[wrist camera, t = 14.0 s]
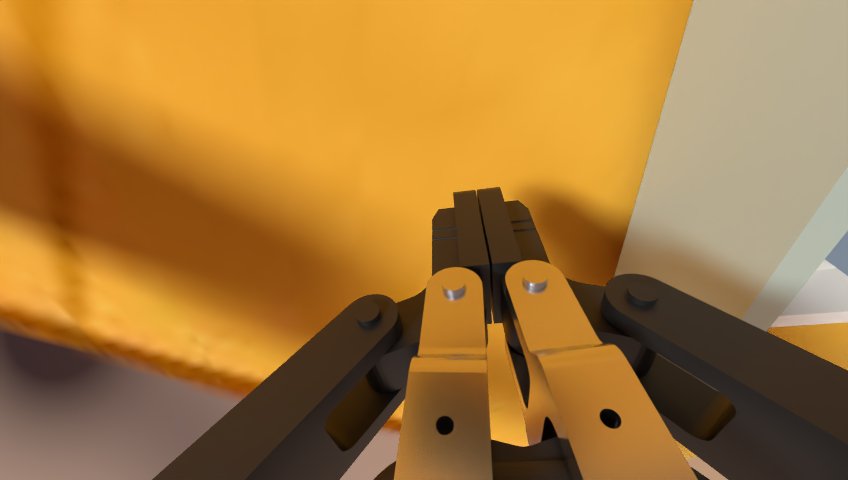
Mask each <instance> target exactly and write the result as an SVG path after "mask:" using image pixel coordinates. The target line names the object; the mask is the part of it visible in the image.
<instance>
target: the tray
mask: <svg viewBox="0 0 848 480" xmlns="http://www.w3.org/2000/svg"><path fill="white" fill-rule="evenodd" d="M847 231H848V0H694V1H693V5H692V8H691V12H690V15H689V19H688V22H687V26H686V29H685V33H684V36H683V40H682V43H681V46H680V50H679V53H678V57H677V60H676V64H675V67H674V71H673V74H672V78H671V81H670V85H669V88H668V92H667V95H666V98H665V102H664V105H663V109H662V112H661V116H660V119H659V123H658V126H657V130H656V133H655V137H654V140H653V143H652V147H651V150H650V154H649V157H648V161H647V164H646V168H645V171H644V175H643V178H642V182H641V185H640V189H639V192H638V195H637V199H636V202H635V206H634V209H633V213H632V216H631V220H630V223H629V227H628V230H627V234H626V237H625V241H624V244H623V247H622V251H621V254H620V258H619V261H618V265H617V268H616V272H615V275H614V277H615V276H618V275H622V274H641V275H646V276H649V277H652V278H655V279H657V280H659V281H661V282H663V283H665V284H668V285H670V286H672V287H674V288H676V289H678V290H680V291H682V292H684V293H686V294H688V295H691V296H693V297H695V298H697V299H699V300H701V301H703V302H705V303H707V304H709V305H711V306H714V307H716V308H718V309H720V310H722V311H724V312H726V313H728V314H730V315H732V316H734V317H737V318H739V319H741V320H743V321H745V322H747V323H749V324H751V325H753V326H755V327H757V328H760V329H762V330H764V331H766V332H767V330H768V329H769V328H770V327H785V326H800V325H815V324H829V323H844V322H848V276H847V275H846V274H844V273H843V272H842V271H840V270H839V269H838V268H836V267H835V266H833V265H832V264H831V263H829V262H828V261H827V260H825V258H826V257H827V256H828V254H829V253H830V252H831V251H832V250H833V248H834V247H835V246H836V245H837V243H838V242H839V241H840V240H841V238H842V237H843V236H844V235H845V233H846V232H847ZM658 355H659V354H658ZM660 356H661V355H660ZM663 358H664V357H663ZM668 361H669V360H668ZM671 363H672V362H671ZM676 366H677V365H676ZM679 368H680V367H679ZM684 371H685V370H684ZM687 373H688V372H687ZM689 374H690V373H689ZM692 376H693V375H692ZM697 379H698V378H697ZM700 381H701V380H700ZM705 384H706V383H705ZM708 386H709V385H708ZM710 387H711V386H710ZM713 389H714V388H713Z"/></svg>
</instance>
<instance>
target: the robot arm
mask: <svg viewBox="0 0 848 480" xmlns="http://www.w3.org/2000/svg"><path fill="white" fill-rule="evenodd" d="M453 196H454V207H455V208H446V209H439V210H438V211H437V213H436V214H435V216H434V218H433V219H432V231H433V232H432V240H433V241H432V277H431V278H430V280H429V281H428V283H427V287H426V288H425V289H424V290H423V291H422V292H421V293H419V294H418V295H416V296H414V297H412V298H409V299H406V300H404V301H401V302H398V303H395V302H394V301H393V300H392V299H391V298H389V297H387V296H384V295H379V294H373V295H367V296H364V297H361V298H359V299H357V300H356V301H354V302H353V303H352V304H350V305H349V306H348V307H347V308H346V309H345V310H343V311H342V312H341V313H340V314H339V315H338V316H337V317H336V318H334V319H333V320H332V321H331V322H330V323H329V324H328V325H327V326H325V327H324V328H323V329H322V330H321V331H320V332H319V333H317V334H316V335H315V336H314V337H313V338H312V339H311V340H310V341H308V342H307V343H306V344H305V345H304V346H303V347H302V348H300V349H299V350H298V351H297V352H296V353H295V354H294V355H293V356H291V357H290V358H289V359H288V360H287V361H286V362H285V363H284V364H282V365H281V366H280V367H279V368H278V369H277V370H276V371H274V372H273V373H272V374H271V375H270V376H269V377H268V378H267V379H265V380H264V381H263V382H262V383H261V384H260V385H259V386H258V387H256V388H255V389H254V390H253V391H252V392H251V393H250V394H248V395H247V396H246V397H245V398H244V399H243V400H242V401H241V402H239V403H238V404H237V405H236V406H235V407H234V408H233V409H232V410H230V411H229V412H228V413H227V414H226V415H225V416H224V417H222V418H221V419H220V420H219V421H218V422H217V423H216V424H215V425H214V426H212V427H211V428H210V429H209V430H208V431H207V432H206V433H204V434H203V435H202V436H201V437H200V438H199V439H198V440H196V442H195V443H193V444H192V445H191V446H190V447H189V448H187V449H186V450H185V451H184V452H183V453H182V454H181V455H180V456H178V457H177V458H176V459H175V460H174V461H173V462H172V463H170V464H169V465H168V466H167V467H166V468H165V469H164V470H163V471H161V472H160V473H159V474H158V475H157V476H156V477H155V478H154V479H153V480H340V478H341V477H342V476H343V475H344V473H345V472H346V471H347V470H348V468H349V467H350V466H351V465H352V463H353V462H354V461H355V460H356V459H357V457H358V456H359V455H360V453H361V452H362V451H363V450H364V448H365V447H366V446H367V445H368V444H369V442H370V441H371V440H372V439H373V437H374V436H375V435H376V434H377V433H378V431H379V430H380V429H381V428H382V426H383V425H384V424H385V423H386V421H387V420H388V419H389V418H390V416H391V415H392V414H393V413H394V411H395V410H396V409H397V408H398V407H399V405H400V404H401V403H402V402H403V400H404V399H405V403H404V410H403V417H402V424H401V431H400V438H399V446H398V453H397V460H396V461H395V462H394V463H392V464H391V465H389V466H388V467H387V468H385V470H383V471H382V472H381V473H380V474H379V475H378V476H377V477H376V478H375V479H374V480H709V479H708V478H706V477H705V476H704V475H702V474H701V473H699V472H698V471H696V470H695V469H693V468H692V467H690V466H689V464H688V462H687V461H686V459H685V457H684V455H683V454H682V452H681V450H680V449H679V447H678V445H677V444H676V442H675V440H677V441H678V442H679V443H681V444H682V445H683V446H685V447H686V448H687V449H689V450H690V451H691V452H693V453H694V454H695V455H697V456H698V457H699V458H701V459H702V460H703V461H704V462H706V463H707V464H709V465H710V466H711V467H713V468H714V469H715V470H716V471H718V472H719V473H720V474H722V475H723V476H724V477H726V478H727V479H728V480H848V371H847V370H845V369H843V368H841V367H839V366H837V365H835V364H833V363H831V362H829V361H826V360H824V359H822V358H820V357H818V356H816V355H814V354H812V353H810V352H808V351H806V350H803V349H801V348H799V347H797V346H795V345H793V344H791V343H789V342H787V341H785V340H783V339H780V338H778V337H776V336H774V335H772V334H770V333H768V332H766V331H764V330H762V329H760V328H757V327H755V326H753V325H751V324H749V323H747V322H745V321H743V320H741V319H739V318H737V317H734V316H732V315H730V314H728V313H726V312H724V311H722V310H720V309H718V308H716V307H714V306H711V305H709V304H707V303H705V302H703V301H701V300H699V299H697V298H695V297H693V296H691V295H688V294H686V293H684V292H682V291H680V290H678V289H676V288H674V287H672V286H670V285H668V284H665V283H663V282H661V281H659V280H657V279H655V278H652V277H649V276H646V275H641V274H622V275H618V276H615V277H613V278H612V279H611V280H609V282H608V283H607V285H606V287H603V286H596V285H590V284H583V283H578V282H575V281H572V280H569V279H567V278H565V277H564V275H563V273H562V272H561V271H560V270H559V269H558V268H556V267H555V266H553V265H551V264H550V262H549V260H548V257H547V255H546V252H545V250H544V247H543V245H542V242H541V240H540V237H539V235H538V232H537V230H536V227H535V225H534V222H533V221H532V217H531V215H530V212H529V210H528V208H527V207H525V206H524V205H523V204H522V203H520V202H519V201H518V200H517V201H508V202H504V199H503V196H502V192H501V189H500V187H496V188H487V189H479V190H477V196H476V191H475V190H471V191H462V192H454V193H453ZM491 308H492V314H493V320H494V323H503V327H504V332H505V349H506V353H507V356H508V360H509V363H510V367H511V371H512V374H513V378H514V381H515V385H516V388H517V392H518V396H519V399H520V403H521V406H522V410H523V414H524V419H525V425H526V433H527V439H528V443H529V446H527V447H520V446H515V445H511V444H507V443H503V442H499V441H495V440H491V430H490V412H489V393H488V375H487V356H486V347H487V344H488V330H487V324H492V317H491ZM658 354H659V355H658ZM660 355H661V356H660ZM663 357H664V358H663ZM668 360H669V361H668ZM671 362H672V363H671ZM676 365H677V366H676ZM679 367H680V368H679ZM684 370H685V371H684ZM687 372H688V373H687ZM689 373H690V374H689ZM692 375H693V376H692ZM697 378H698V379H697ZM700 380H701V381H700ZM705 383H706V384H705ZM708 385H709V386H708ZM710 386H711V387H710ZM713 388H714V389H713ZM718 391H719V392H718ZM674 439H675V440H674Z"/></svg>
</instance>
